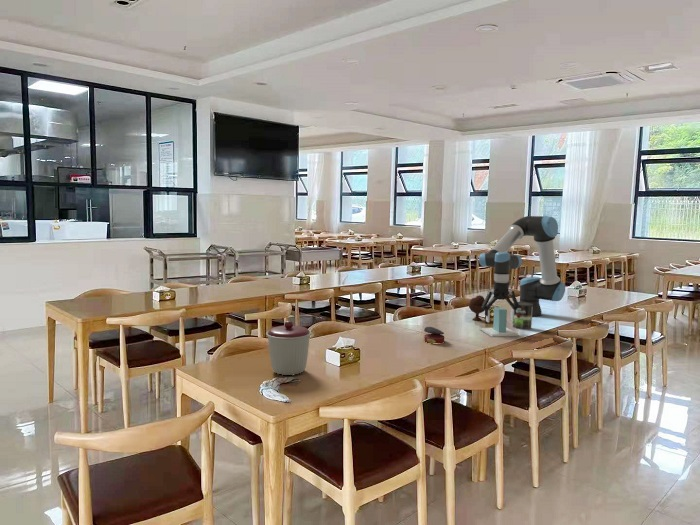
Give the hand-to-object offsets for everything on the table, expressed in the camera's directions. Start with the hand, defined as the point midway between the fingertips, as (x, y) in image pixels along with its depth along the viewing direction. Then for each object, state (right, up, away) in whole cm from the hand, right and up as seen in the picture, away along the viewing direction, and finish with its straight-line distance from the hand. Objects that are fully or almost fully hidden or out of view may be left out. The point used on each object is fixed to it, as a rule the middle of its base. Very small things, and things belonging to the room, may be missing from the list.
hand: (499, 321), depth 274 cm
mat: (0, -7, +1) cm, 7 cm away
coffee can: (+16, -6, +14) cm, 22 cm away
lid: (0, -6, +1) cm, 6 cm away
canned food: (-37, -9, -15) cm, 41 cm away
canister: (-104, -13, -64) cm, 123 cm away
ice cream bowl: (-4, -3, +34) cm, 35 cm away
